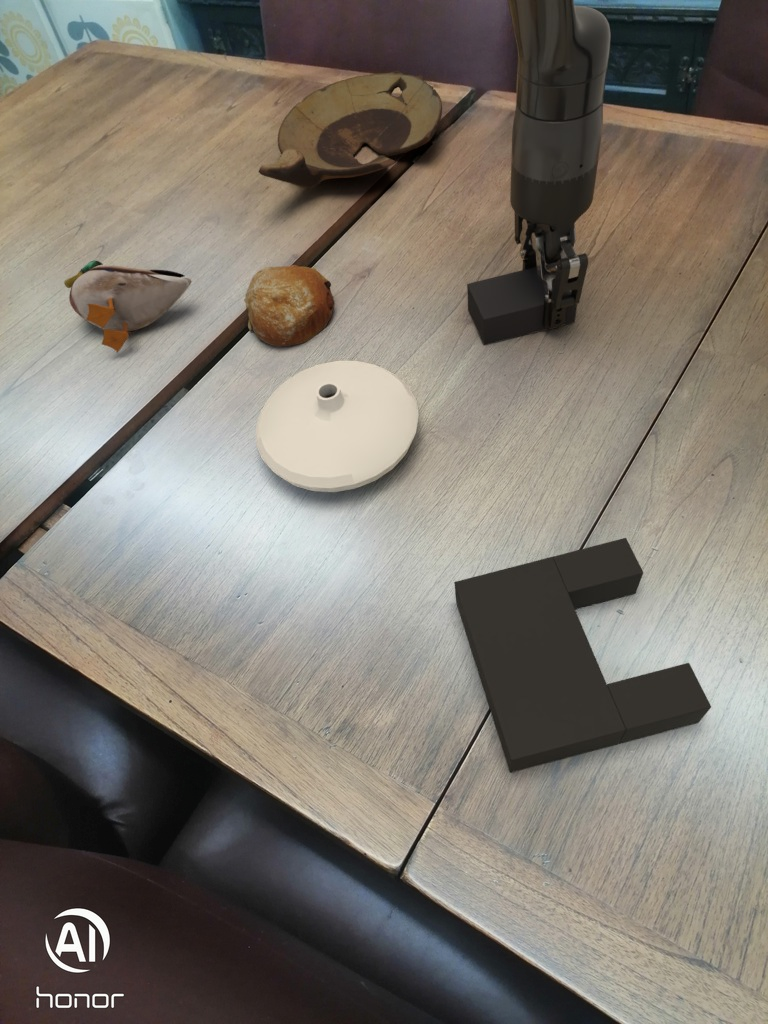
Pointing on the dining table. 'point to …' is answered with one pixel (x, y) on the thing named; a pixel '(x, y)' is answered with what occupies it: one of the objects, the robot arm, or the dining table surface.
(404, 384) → the pot lid
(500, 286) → the pad
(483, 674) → the socket pad
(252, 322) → the bread roll
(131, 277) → the decorative duck model
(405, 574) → the dining table surface
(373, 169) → the oil lamp
